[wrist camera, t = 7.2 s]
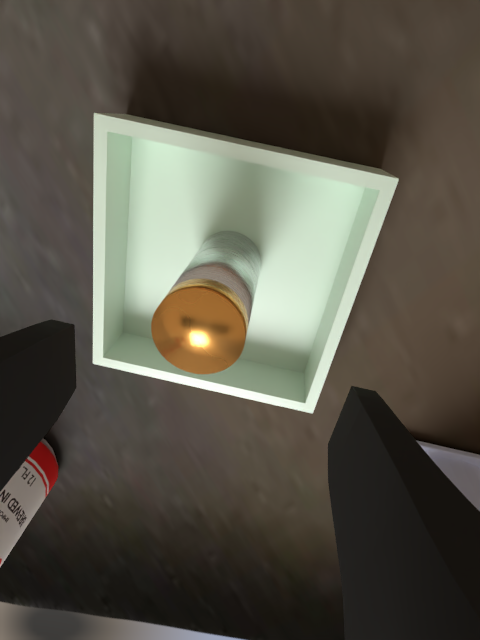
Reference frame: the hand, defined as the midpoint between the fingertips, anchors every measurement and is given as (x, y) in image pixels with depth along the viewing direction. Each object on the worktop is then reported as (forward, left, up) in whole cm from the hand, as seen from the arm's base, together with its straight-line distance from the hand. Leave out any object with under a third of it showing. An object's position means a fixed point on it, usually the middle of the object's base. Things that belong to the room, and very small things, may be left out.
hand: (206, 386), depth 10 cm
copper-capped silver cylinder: (0, +1, -9) cm, 9 cm away
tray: (0, +1, -10) cm, 10 cm away
